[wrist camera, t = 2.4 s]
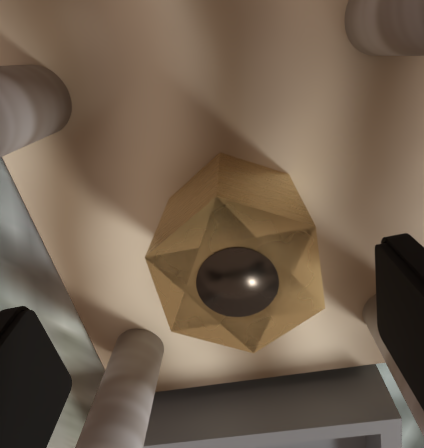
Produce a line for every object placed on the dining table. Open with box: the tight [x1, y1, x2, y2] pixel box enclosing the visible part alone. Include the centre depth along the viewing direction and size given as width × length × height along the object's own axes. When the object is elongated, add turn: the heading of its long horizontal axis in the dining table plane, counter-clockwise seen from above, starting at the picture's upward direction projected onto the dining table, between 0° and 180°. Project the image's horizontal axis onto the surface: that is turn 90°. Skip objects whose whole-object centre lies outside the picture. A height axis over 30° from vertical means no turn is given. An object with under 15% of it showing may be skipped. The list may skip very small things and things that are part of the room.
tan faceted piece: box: [145, 152, 325, 353], centre depth 13 cm, size 5×6×5 cm
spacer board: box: [0, 0, 424, 448], centre depth 13 cm, size 18×20×7 cm
